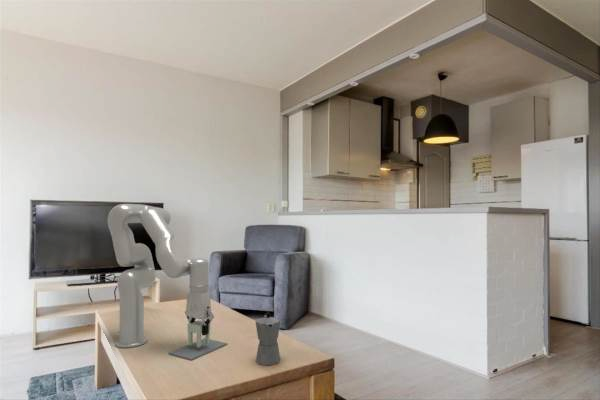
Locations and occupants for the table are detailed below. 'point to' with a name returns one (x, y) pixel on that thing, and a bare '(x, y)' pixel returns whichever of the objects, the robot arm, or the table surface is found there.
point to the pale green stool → (197, 328)
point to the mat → (197, 349)
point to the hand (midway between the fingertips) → (199, 332)
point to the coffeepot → (268, 340)
